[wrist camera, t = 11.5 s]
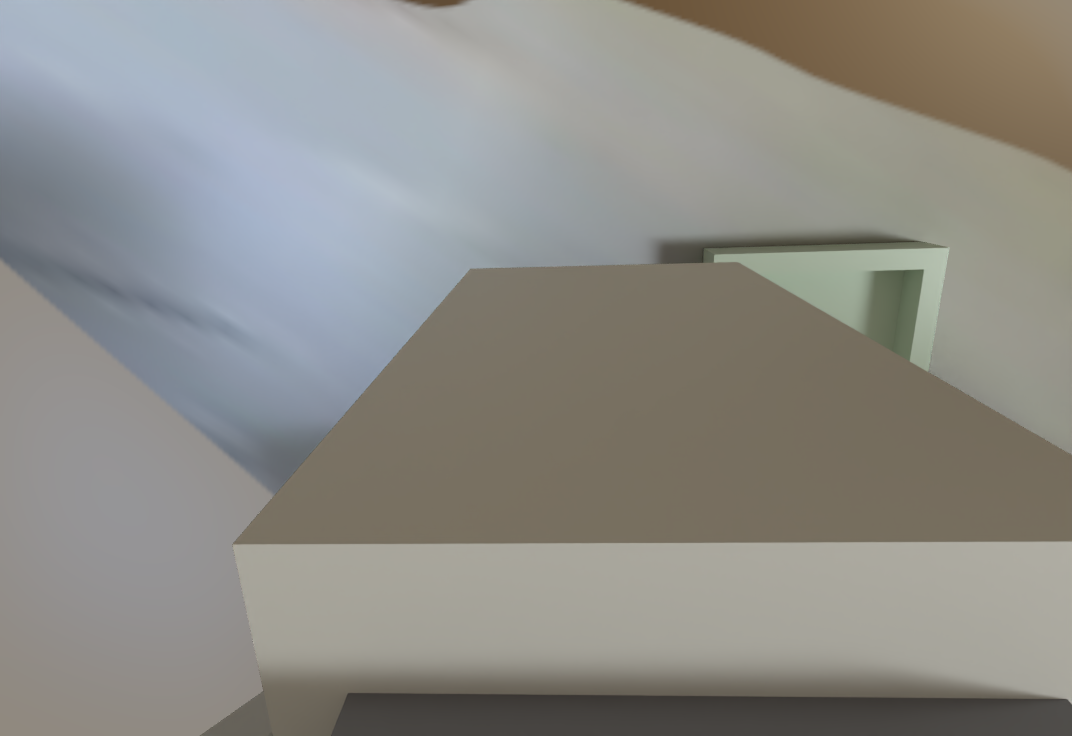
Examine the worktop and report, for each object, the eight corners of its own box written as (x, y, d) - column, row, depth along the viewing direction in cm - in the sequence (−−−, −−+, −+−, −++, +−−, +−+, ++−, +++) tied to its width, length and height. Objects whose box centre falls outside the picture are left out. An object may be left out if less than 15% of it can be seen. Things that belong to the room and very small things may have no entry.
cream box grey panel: (737, 262, 12) (1436, 664, 2) (709, 687, 15) (956, 1584, 5) (470, 268, 12) (131, 657, 3) (497, 685, 15) (388, 1541, 6)
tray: (922, 241, 32) (949, 247, 30) (879, 517, 37) (899, 539, 35) (703, 248, 32) (714, 254, 30) (690, 519, 37) (698, 541, 35)
